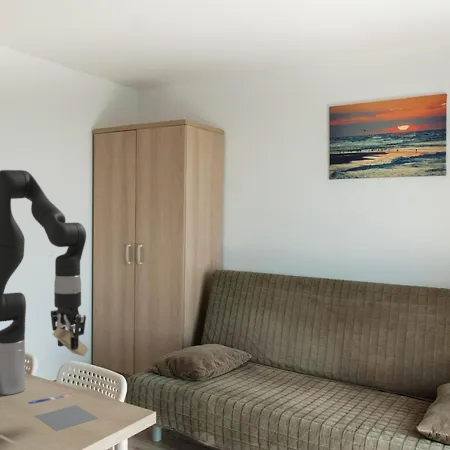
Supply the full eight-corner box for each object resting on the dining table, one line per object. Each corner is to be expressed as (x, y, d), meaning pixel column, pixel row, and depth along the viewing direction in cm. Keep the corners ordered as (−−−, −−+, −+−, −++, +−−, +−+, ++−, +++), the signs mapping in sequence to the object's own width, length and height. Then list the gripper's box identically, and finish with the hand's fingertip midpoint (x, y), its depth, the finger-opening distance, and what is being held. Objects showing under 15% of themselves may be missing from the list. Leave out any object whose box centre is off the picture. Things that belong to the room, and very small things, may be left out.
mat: (35, 417, 155) (35, 415, 155) (75, 406, 163) (75, 404, 163) (56, 432, 144) (56, 430, 144) (98, 420, 153) (98, 418, 153)
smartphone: (80, 398, 169) (33, 409, 160) (80, 401, 169) (33, 412, 160) (71, 392, 175) (25, 402, 166) (71, 395, 175) (25, 405, 166)
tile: (72, 353, 158) (52, 334, 152) (77, 346, 160) (57, 327, 154) (84, 356, 155) (63, 337, 149) (88, 349, 156) (69, 330, 151)
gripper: (42, 289, 154) (42, 346, 155) (72, 294, 146) (72, 354, 146) (63, 286, 160) (63, 341, 161) (93, 291, 152) (93, 349, 152)
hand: (67, 347), depth 154 cm, fingers closed on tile, 5 cm apart
